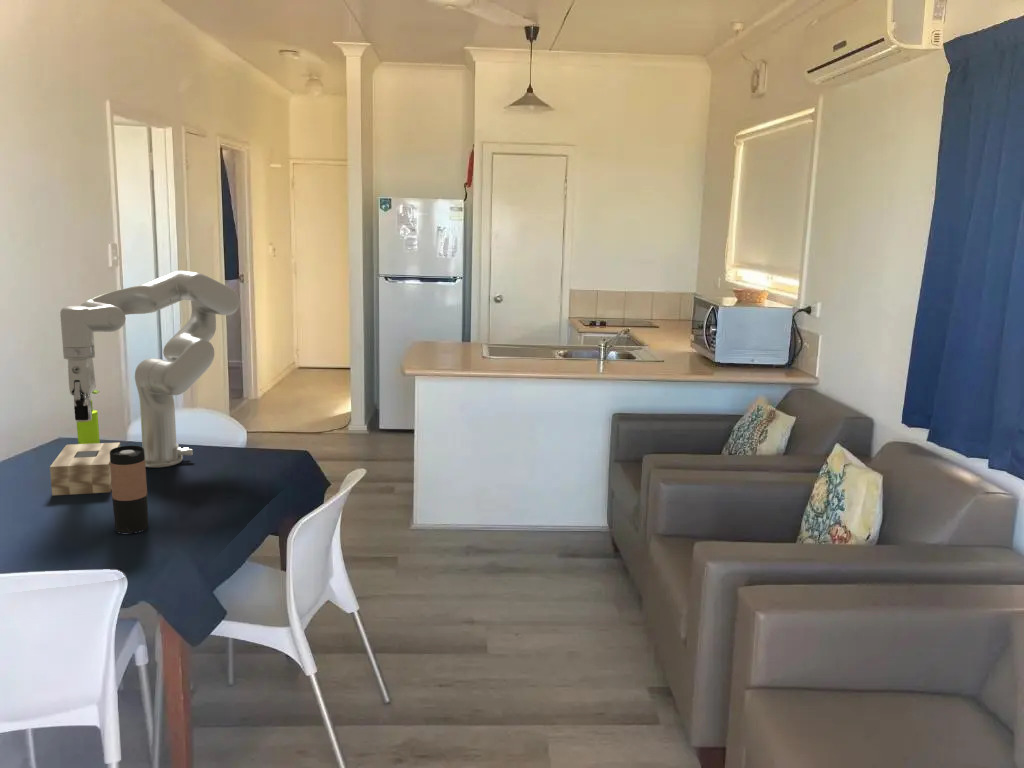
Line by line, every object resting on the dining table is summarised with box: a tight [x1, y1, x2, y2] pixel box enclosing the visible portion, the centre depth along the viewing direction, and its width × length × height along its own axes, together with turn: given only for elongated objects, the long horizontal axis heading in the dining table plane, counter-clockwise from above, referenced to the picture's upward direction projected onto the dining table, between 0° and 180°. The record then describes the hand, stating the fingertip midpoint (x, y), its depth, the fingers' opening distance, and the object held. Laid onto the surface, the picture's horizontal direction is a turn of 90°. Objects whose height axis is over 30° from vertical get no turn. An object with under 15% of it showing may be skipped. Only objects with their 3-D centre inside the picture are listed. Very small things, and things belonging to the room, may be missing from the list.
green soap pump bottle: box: [76, 389, 101, 444], centre depth 249 cm, size 6×7×20 cm
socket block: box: [49, 442, 121, 496], centre depth 226 cm, size 14×20×8 cm
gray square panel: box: [75, 451, 98, 458], centre depth 225 cm, size 5×5×1 cm
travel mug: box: [110, 445, 149, 534], centre depth 195 cm, size 8×8×20 cm
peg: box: [74, 394, 92, 423], centre depth 222 cm, size 4×4×7 cm
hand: (83, 416), depth 223 cm, fingers closed on peg, 4 cm apart
